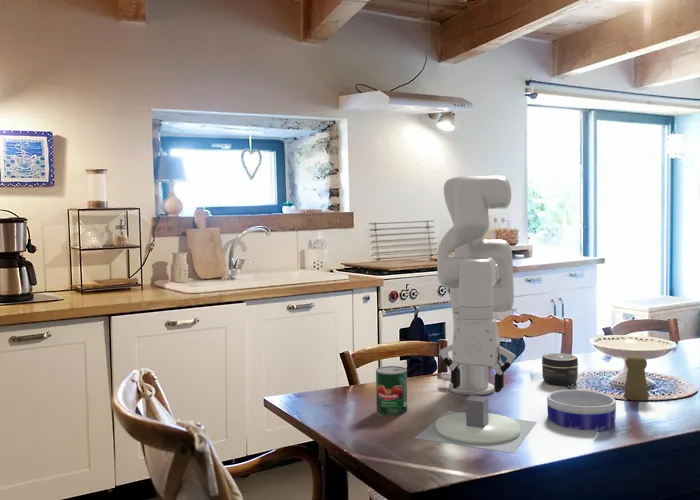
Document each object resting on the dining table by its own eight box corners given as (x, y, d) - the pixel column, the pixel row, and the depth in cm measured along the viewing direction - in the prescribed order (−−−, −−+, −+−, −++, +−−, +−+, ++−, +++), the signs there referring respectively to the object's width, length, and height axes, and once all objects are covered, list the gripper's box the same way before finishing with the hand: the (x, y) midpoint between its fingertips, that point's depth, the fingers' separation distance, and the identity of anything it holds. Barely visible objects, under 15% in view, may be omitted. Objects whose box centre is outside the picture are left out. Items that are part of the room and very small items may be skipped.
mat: (414, 440, 145) (414, 437, 145) (447, 413, 165) (447, 410, 164) (514, 455, 135) (514, 452, 135) (536, 424, 154) (536, 421, 154)
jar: (558, 376, 198) (558, 351, 198) (585, 383, 190) (585, 357, 189) (534, 381, 193) (534, 355, 193) (561, 388, 185) (561, 362, 184)
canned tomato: (380, 418, 162) (379, 374, 161) (373, 409, 169) (372, 366, 169) (411, 415, 163) (410, 372, 162) (403, 406, 171) (402, 365, 170)
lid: (423, 436, 146) (422, 404, 145) (451, 413, 162) (450, 384, 162) (508, 449, 137) (508, 415, 136) (528, 422, 154) (528, 392, 153)
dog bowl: (555, 409, 166) (555, 386, 166) (620, 418, 158) (620, 393, 158) (540, 427, 153) (540, 401, 152) (610, 437, 145) (610, 410, 145)
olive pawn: (651, 400, 171) (651, 359, 170) (626, 400, 172) (626, 358, 172) (645, 394, 177) (645, 354, 176) (621, 393, 178) (621, 353, 178)
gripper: (434, 314, 149) (435, 389, 149) (510, 317, 141) (511, 396, 141) (445, 310, 155) (446, 382, 156) (518, 313, 147) (519, 389, 148)
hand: (477, 389), depth 148 cm, fingers open, 9 cm apart
